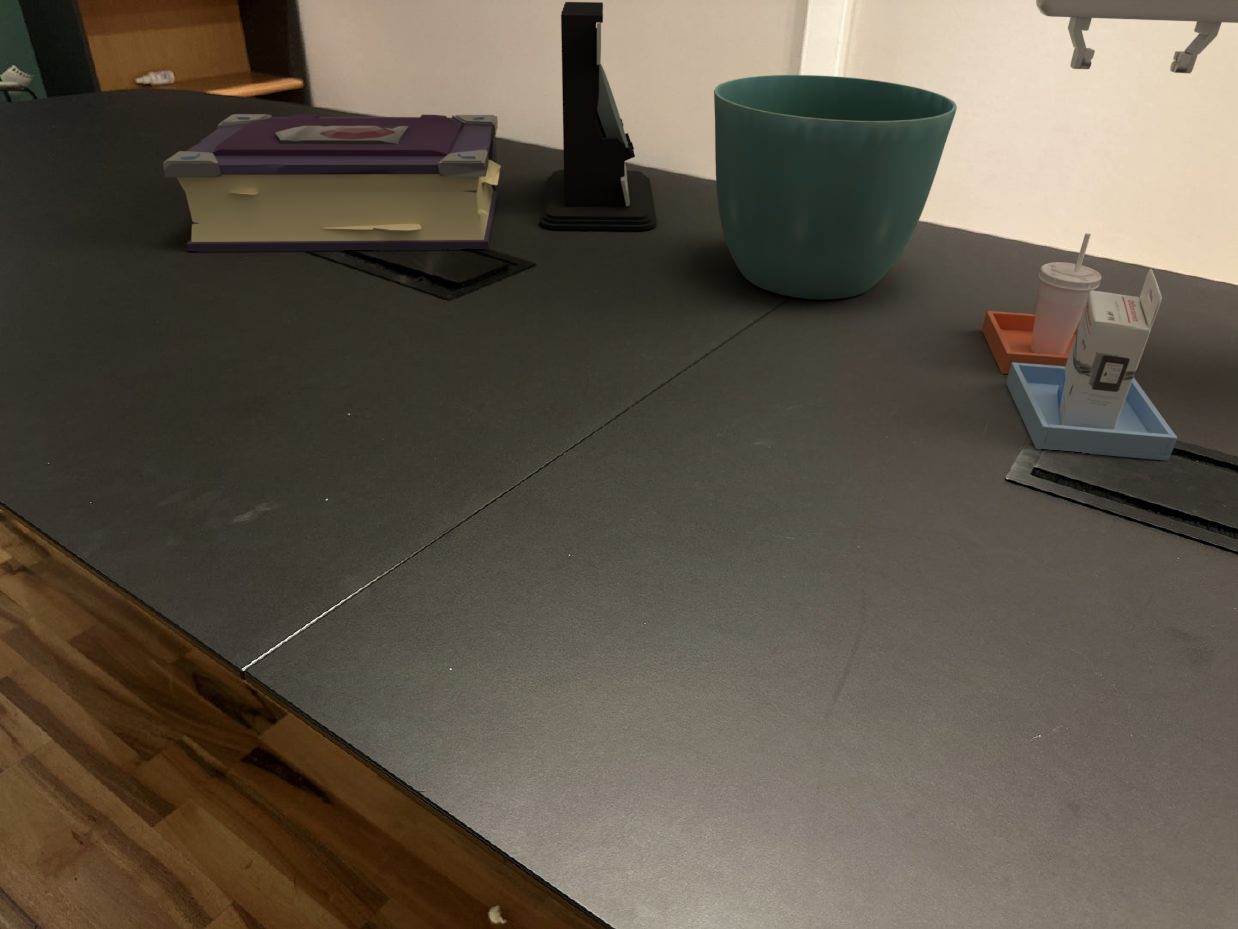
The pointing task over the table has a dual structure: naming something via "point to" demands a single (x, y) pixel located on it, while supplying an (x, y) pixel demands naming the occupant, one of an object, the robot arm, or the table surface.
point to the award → (593, 141)
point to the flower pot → (823, 177)
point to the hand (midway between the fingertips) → (1129, 70)
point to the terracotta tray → (1016, 340)
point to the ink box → (1106, 356)
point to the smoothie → (1061, 302)
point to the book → (341, 183)
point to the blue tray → (1132, 437)
